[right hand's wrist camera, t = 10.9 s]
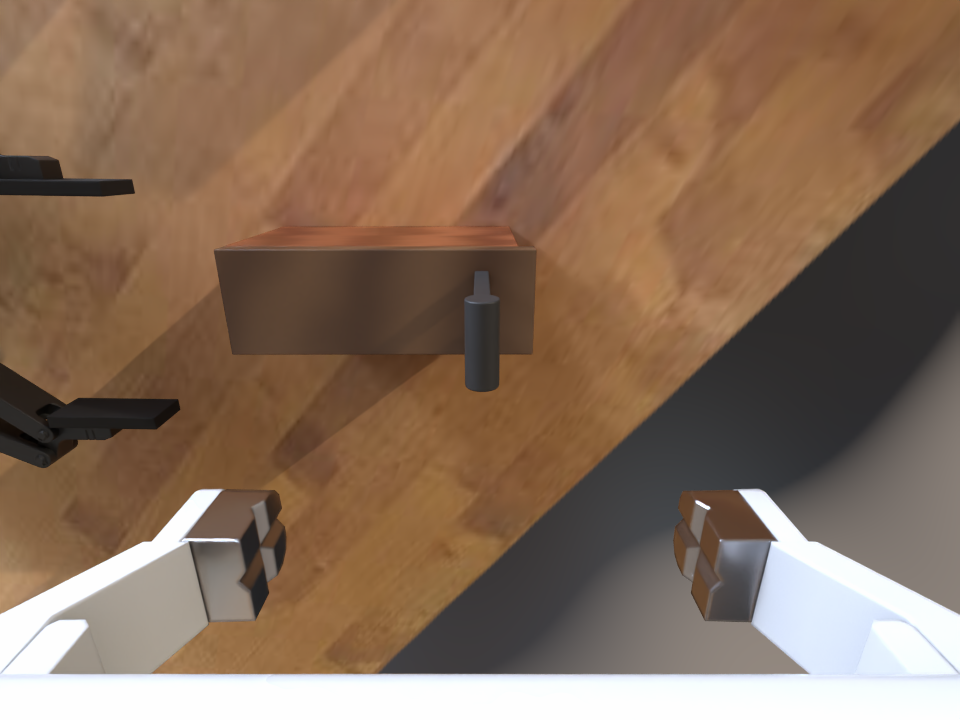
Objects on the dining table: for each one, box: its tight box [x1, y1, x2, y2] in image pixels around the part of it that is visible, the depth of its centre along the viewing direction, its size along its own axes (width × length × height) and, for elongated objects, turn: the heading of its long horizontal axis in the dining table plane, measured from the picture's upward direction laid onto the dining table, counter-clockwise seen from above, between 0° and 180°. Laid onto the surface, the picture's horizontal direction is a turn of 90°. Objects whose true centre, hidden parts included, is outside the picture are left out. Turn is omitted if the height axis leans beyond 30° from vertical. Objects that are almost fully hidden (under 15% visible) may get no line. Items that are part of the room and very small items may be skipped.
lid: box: [214, 246, 536, 392], centre depth 24 cm, size 16×6×8 cm, turn 90°
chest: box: [226, 226, 518, 246], centre depth 32 cm, size 15×6×9 cm, turn 90°
